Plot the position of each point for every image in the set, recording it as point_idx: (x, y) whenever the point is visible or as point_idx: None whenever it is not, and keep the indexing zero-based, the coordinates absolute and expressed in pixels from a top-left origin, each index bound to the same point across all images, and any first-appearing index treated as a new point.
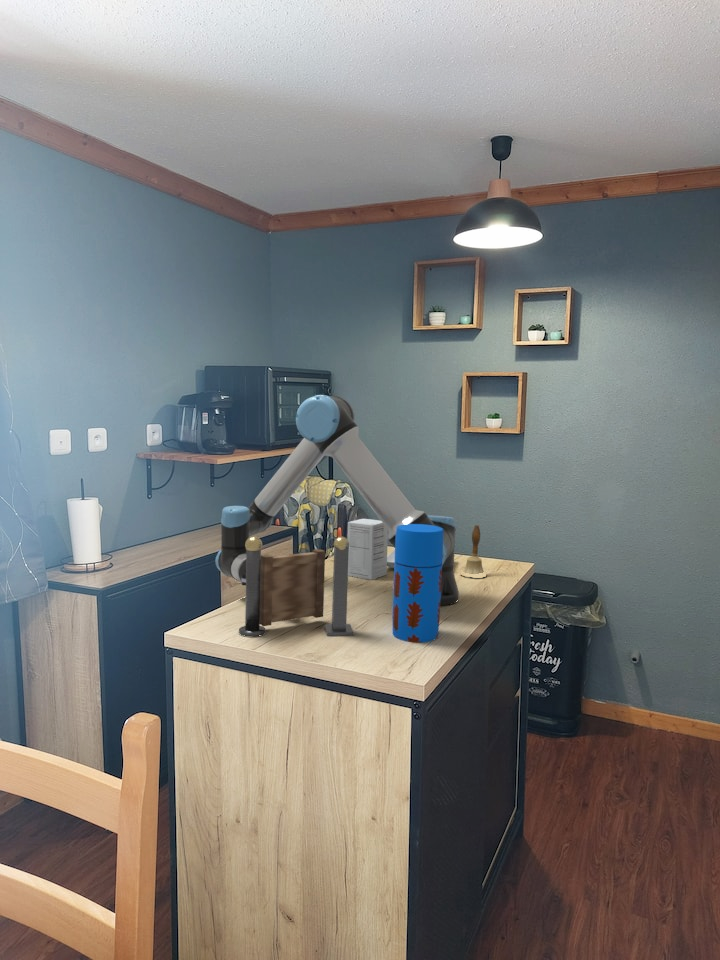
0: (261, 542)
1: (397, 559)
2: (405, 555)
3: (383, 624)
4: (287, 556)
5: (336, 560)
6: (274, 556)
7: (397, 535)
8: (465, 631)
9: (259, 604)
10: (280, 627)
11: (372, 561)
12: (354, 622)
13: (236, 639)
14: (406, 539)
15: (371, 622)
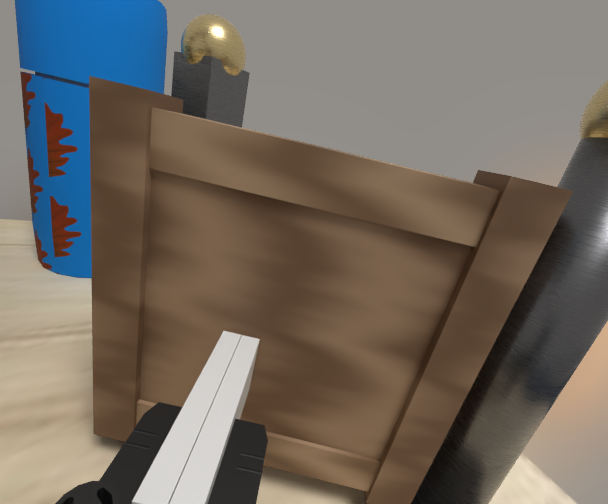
0: (599, 89)
1: (148, 89)
2: (162, 76)
3: (39, 302)
4: (373, 159)
5: (238, 122)
6: (455, 179)
7: (148, 16)
8: (25, 222)
9: None
10: (296, 491)
11: None
12: (55, 353)
13: (498, 491)
14: (165, 33)
15: (29, 325)
